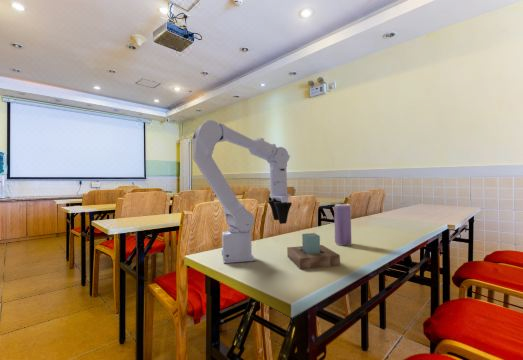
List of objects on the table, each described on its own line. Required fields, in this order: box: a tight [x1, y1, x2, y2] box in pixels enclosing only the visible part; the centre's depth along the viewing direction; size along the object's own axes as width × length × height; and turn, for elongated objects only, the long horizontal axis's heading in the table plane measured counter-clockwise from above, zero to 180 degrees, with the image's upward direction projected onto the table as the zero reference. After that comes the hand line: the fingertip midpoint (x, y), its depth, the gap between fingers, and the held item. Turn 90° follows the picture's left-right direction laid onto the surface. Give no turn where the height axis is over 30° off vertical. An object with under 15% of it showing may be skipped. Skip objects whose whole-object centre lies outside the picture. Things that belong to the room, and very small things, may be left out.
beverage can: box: [333, 203, 352, 247], centre depth 97 cm, size 6×6×15 cm
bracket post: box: [301, 232, 321, 255], centre depth 78 cm, size 4×4×8 cm
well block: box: [286, 244, 341, 270], centre depth 78 cm, size 12×12×3 cm
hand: (279, 221), depth 89 cm, fingers open, 7 cm apart
